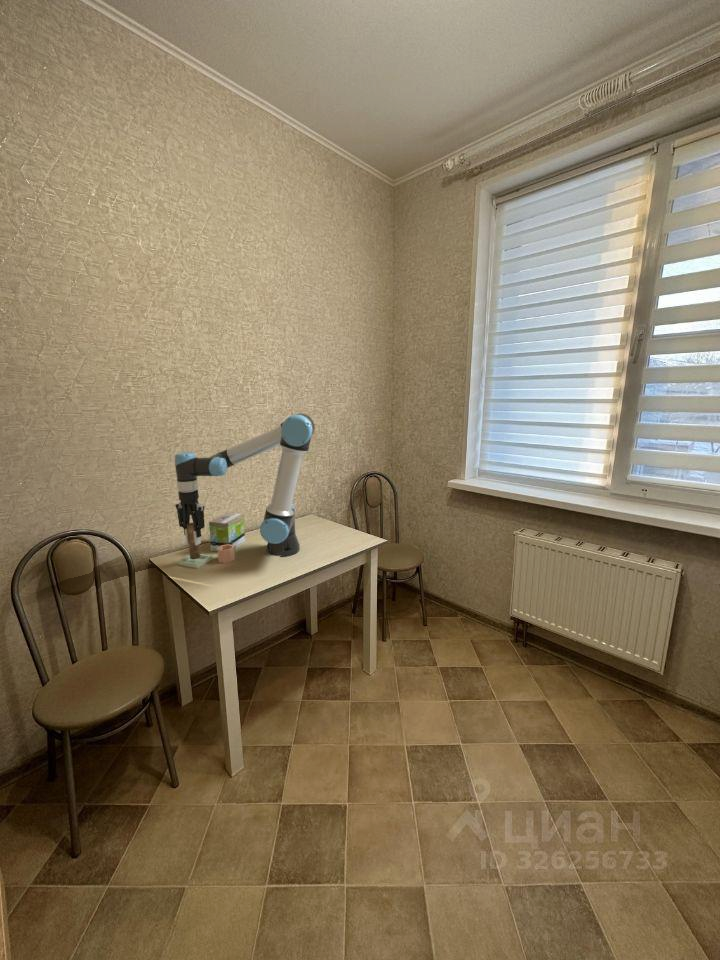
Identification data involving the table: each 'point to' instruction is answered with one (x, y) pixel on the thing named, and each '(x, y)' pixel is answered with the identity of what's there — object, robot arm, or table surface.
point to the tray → (195, 561)
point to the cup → (226, 553)
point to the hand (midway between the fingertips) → (193, 543)
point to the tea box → (227, 530)
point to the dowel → (192, 542)
